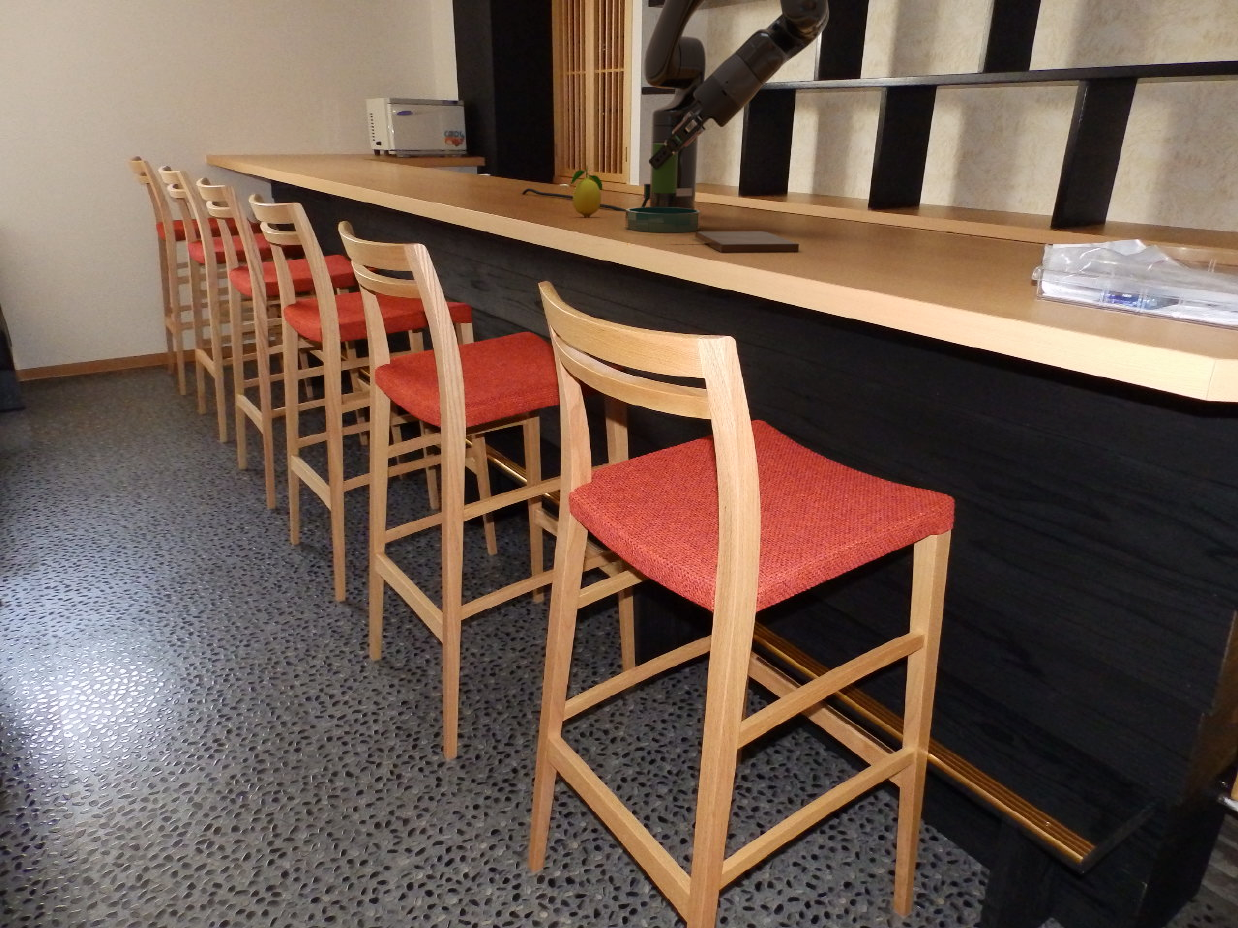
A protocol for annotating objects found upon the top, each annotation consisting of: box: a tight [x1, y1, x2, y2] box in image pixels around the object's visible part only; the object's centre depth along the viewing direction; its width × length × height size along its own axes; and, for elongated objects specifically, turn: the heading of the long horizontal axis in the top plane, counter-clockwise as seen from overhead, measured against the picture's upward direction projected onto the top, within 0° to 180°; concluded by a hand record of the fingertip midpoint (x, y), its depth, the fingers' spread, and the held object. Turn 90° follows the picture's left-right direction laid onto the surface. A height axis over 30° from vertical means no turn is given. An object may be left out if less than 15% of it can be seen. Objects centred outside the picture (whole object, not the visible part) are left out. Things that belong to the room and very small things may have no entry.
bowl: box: [624, 206, 702, 234], centre depth 149 cm, size 13×13×4 cm
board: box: [695, 230, 800, 253], centre depth 132 cm, size 16×12×1 cm
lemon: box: [570, 165, 603, 218], centre depth 165 cm, size 7×6×10 cm
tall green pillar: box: [651, 143, 678, 193], centre depth 146 cm, size 4×4×8 cm
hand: (653, 165), depth 146 cm, fingers closed on tall green pillar, 4 cm apart
